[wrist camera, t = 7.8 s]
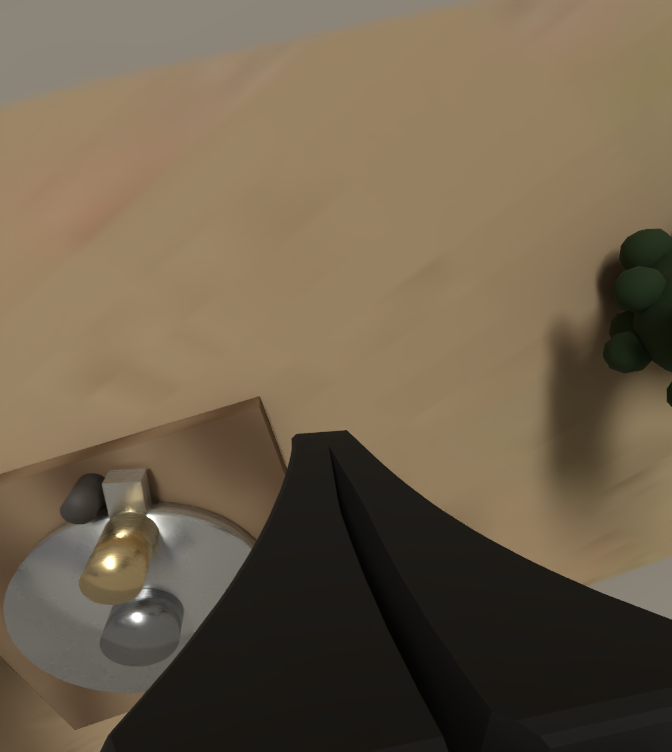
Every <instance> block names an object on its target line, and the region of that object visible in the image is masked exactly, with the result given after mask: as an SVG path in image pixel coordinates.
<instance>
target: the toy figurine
mask: <svg viewBox="0 0 672 752" xmlns="http://www.w3.org/2000/svg"><path fill="white" fill-rule="evenodd" d="M619 259H620V261H621V263H622V265H623V267H624V268H625V269H626V271H623V272H621V274H620V275H619V276H618V278H617V279H616V281H615V282H614V284H613V285H612V287H611V299H612V300H613V301H614V302H615V303H616V304H617V305H618V306H619V307H620V308H621V309H622V310H625V312H622V313H619V314H617V315H616V316H615V317H614V318H613V320H612V321H611V325H610V332H609V334H610V336H611V339H610V340H609V341H608V342H607V343H606V344H605V346H604V351H603V358H604V360H605V361H606V363H607V364H608V366H609V367H610V368H611V369H614V370H616V371H619V372H622V373H629V372H634V371H639V370H642V369H644V368H645V367H646V366H647V365H648V364H649V363H650V362H651V361H654V362H655V363H657V364H658V365H660V366H661V367H663V368H664V369H666V370H667V371H670V372H672V238H671V237H670V236H669V235H668V234H667V233H666V232H664V231H663V230H662V229H645V230H641V231H638V232H636V233H634V234H633V235H631V236H629V237H627V239H626V240H625V241H624V242H623V244H622V245H621V249H620V258H619ZM667 402H668V403H669V404H670V406H671V407H672V382H671V384H670V385H669V386H668V388H667Z"/></svg>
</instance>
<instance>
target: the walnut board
mask: <svg viewBox="0 0 672 752" xmlns="http://www.w3.org/2000/svg"><path fill="white" fill-rule="evenodd" d="M137 468H147V474H148V480H149V486H150V492H151V498H152V501H157V502H172V503H178V504H183V505H189V506H193V507H196V508H200V509H204V510H207V511H209V512H212V513H214V514H217V515H219V516H221V517H223V518H225V519H227V520H229V521H231V522H232V523H234V524H236V525H237V526H238V527H240V528H241V529H242V530H244V531H245V532H246V533H247V534H248V535H249V536H251V537H252V538H253V539H254V540H255V541H257V539H258V537H259V535H260V533H261V531H262V529H263V527H264V525H265V523H266V521H267V519H268V517H269V515H270V513H271V510H272V508H273V506H274V504H275V501H276V499H277V497H278V494H279V492H280V489H281V487H282V484H283V481H284V478H285V475H286V472H287V469H286V467H285V464H284V461H283V458H282V456H281V453H280V450H279V448H278V445H277V442H276V440H275V437H274V434H273V432H272V429H271V426H270V423H269V421H268V418H267V415H266V413H265V410H264V407H263V405H262V402H261V399H260V397H256V398H253V399H249V400H246V401H243V402H239V403H236V404H233V405H229V406H226V407H223V408H219V409H216V410H213V411H209V412H206V413H203V414H199V415H196V416H193V417H189V418H186V419H183V420H179V421H176V422H173V423H169V424H166V425H163V426H159V427H156V428H153V429H150V430H146V431H143V432H140V433H136V434H133V435H130V436H126V437H123V438H120V439H116V440H113V441H110V442H106V443H103V444H100V445H96V446H93V447H90V448H86V449H83V450H80V451H76V452H73V453H70V454H66V455H63V456H60V457H56V458H53V459H50V460H46V461H43V462H40V463H36V464H33V465H30V466H26V467H23V468H20V469H16V470H13V471H10V472H7V473H3V474H0V656H1V657H2V658H3V659H4V660H5V661H6V662H7V663H8V664H9V665H10V666H11V667H12V668H13V669H14V670H15V671H16V672H17V673H18V674H19V675H20V676H21V677H22V678H23V679H24V680H25V681H26V682H27V683H28V684H29V685H30V686H31V687H32V688H33V689H34V690H35V691H36V692H37V693H38V694H39V695H40V696H41V697H42V698H43V699H44V700H45V701H46V702H47V703H48V704H49V705H50V706H51V707H52V708H53V709H54V710H55V711H56V712H57V713H58V714H59V715H60V716H61V717H62V718H63V719H64V720H65V721H66V722H67V723H68V724H69V725H70V726H71V727H72V728H73V729H74V730H76V729H79V728H82V727H85V726H88V725H91V724H94V723H97V722H100V721H103V720H106V719H109V718H111V717H114V716H117V715H120V714H123V713H126V712H129V711H130V710H131V708H132V707H133V706H134V705H135V704H136V703H137V702H138V700H139V699H140V698H141V697H142V696H143V695H144V693H114V692H105V691H98V690H93V689H88V688H84V687H81V686H77V685H74V684H71V683H68V682H66V681H63V680H61V679H58V678H56V677H54V676H52V675H50V674H48V673H47V672H45V671H43V670H42V669H40V668H39V667H37V666H36V665H34V664H33V663H32V662H31V661H30V660H28V659H27V658H26V657H25V656H24V655H23V654H22V653H21V652H20V650H19V649H18V648H17V646H16V645H15V644H14V642H13V641H12V639H11V637H10V635H9V633H8V631H7V627H6V624H5V620H4V609H3V606H4V599H5V594H6V591H7V588H8V585H9V583H10V581H11V579H12V577H13V576H14V574H15V572H16V571H17V569H18V568H19V566H20V565H21V563H22V562H23V560H24V559H25V557H26V556H27V554H28V553H29V551H30V550H31V549H32V548H33V547H34V546H35V544H36V543H37V542H38V541H39V540H40V539H41V538H43V537H44V536H45V535H46V534H47V533H48V532H50V531H51V530H53V529H54V528H56V527H57V526H59V525H60V524H62V523H64V522H65V521H67V522H69V523H72V524H79V525H80V524H86V523H89V522H90V521H92V520H93V519H94V517H95V516H96V514H97V512H98V510H99V508H101V507H106V506H107V505H106V501H105V496H104V492H103V487H102V483H103V481H104V479H105V477H106V476H107V474H108V472H109V470H122V469H137Z"/></svg>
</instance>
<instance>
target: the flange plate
mask: <svg viewBox="0 0 672 752" xmlns="http://www.w3.org/2000/svg"><path fill="white" fill-rule="evenodd" d="M102 487H103V492H104V496H105V501H106V505H107V506H106V507H101V508H99V510H98V512H97V514H96V516H95V517H94V519H93V520H92V521H90V522H89V523H86V524H80V525H79V524H72V523H69V522H67V521H65V522H64V523H62V524H60V525H59V526H57V527H56V528H54V529H53V530H51V531H50V532H48V533H47V534H46V535H45V536H44V537H43V538H41V539H40V540H39V541H38V542H37V543H36V544H35V546H34V547H33V548H32V549H31V550H30V551H29V553H28V554H27V556H26V557H25V559H24V560H23V562H22V563H21V565H20V566H19V568H18V569H17V571H16V572H15V574H14V576H13V577H12V579H11V581H10V583H9V585H8V588H7V591H6V594H5V599H4V606H3V609H4V620H5V624H6V627H7V631H8V633H9V635H10V637H11V639H12V641H13V642H14V644H15V645H16V646H17V648H18V649H19V650H20V652H21V653H22V654H23V655H24V656H25V657H26V658H27V659H28V660H30V661H31V662H32V663H33V664H34V665H36V666H37V667H39V668H40V669H42V670H43V671H45V672H47V673H48V674H50V675H52V676H54V677H56V678H58V679H61V680H63V681H66V682H68V683H71V684H74V685H77V686H81V687H84V688H88V689H93V690H98V691H105V692H114V693H145V692H146V691H147V690H148V689H149V688H150V687H151V685H152V684H153V683H154V682H155V681H156V680H157V679H158V677H159V676H160V675H161V674H162V673H163V672H164V670H165V669H166V668H167V667H168V666H169V665H170V664H171V662H172V661H173V660H174V659H175V657H176V656H177V655H178V654H179V652H180V651H181V650H182V649H183V647H184V646H185V645H186V644H187V642H188V641H189V640H190V638H191V637H192V636H193V634H194V633H195V632H196V630H197V629H198V628H199V626H200V625H201V624H202V622H203V621H204V620H205V618H206V617H207V616H208V614H209V613H210V612H211V610H212V609H213V608H214V606H215V605H216V604H217V602H218V601H219V600H220V598H221V597H222V595H223V594H224V592H225V591H226V589H227V588H228V586H229V585H230V583H231V582H232V580H233V579H234V577H235V576H236V574H237V572H238V571H239V569H240V568H241V566H242V564H243V563H244V561H245V560H246V558H247V556H248V555H249V553H250V551H251V550H252V548H253V546H254V544H255V542H256V541H255V540H254V539H253V538H252V537H251V536H249V535H248V534H247V533H246V532H245V531H244V530H242V529H241V528H240V527H238V526H237V525H236V524H234V523H232V522H231V521H229V520H227V519H225V518H223V517H221V516H219V515H217V514H214V513H212V512H209V511H207V510H204V509H200V508H196V507H193V506H189V505H183V504H178V503H172V502H157V501H152V498H151V492H150V486H149V480H148V474H147V468H137V469H122V470H109V472H108V474H107V476H106V477H105V479H104V481H103V483H102Z"/></svg>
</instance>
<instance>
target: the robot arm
mask: <svg viewBox="0 0 672 752" xmlns="http://www.w3.org/2000/svg"><path fill="white" fill-rule="evenodd" d="M100 752H672V620H671V619H669V618H666V617H663V616H661V615H658V614H655V613H653V612H650V611H648V610H645V609H642V608H640V607H637V606H634V605H632V604H629V603H627V602H624V601H621V600H619V599H616V598H613V597H611V596H608V595H606V594H603V593H601V592H598V591H596V590H593V589H591V588H589V587H587V586H584V585H582V584H580V583H578V582H575V581H573V580H571V579H569V578H566V577H564V576H562V575H560V574H557V573H555V572H553V571H551V570H549V569H547V568H545V567H542V566H540V565H538V564H536V563H534V562H532V561H530V560H528V559H526V558H524V557H522V556H520V555H518V554H516V553H514V552H513V551H511V550H509V549H507V548H505V547H503V546H501V545H499V544H498V543H496V542H494V541H492V540H490V539H488V538H486V537H485V536H483V535H481V534H480V533H478V532H476V531H474V530H473V529H471V528H469V527H468V526H466V525H465V524H463V523H461V522H460V521H458V520H457V519H455V518H454V517H452V516H450V515H449V514H447V513H446V512H444V511H443V510H441V509H440V508H438V507H437V506H435V505H434V504H432V503H431V502H430V501H428V500H427V499H426V498H424V497H423V496H422V495H420V494H419V493H418V492H416V491H415V490H414V489H412V488H411V487H410V486H408V485H407V484H406V483H405V482H403V481H402V480H401V479H400V478H398V477H397V476H396V475H395V474H394V473H393V472H391V471H390V470H389V469H388V468H387V467H386V466H384V465H383V464H382V463H381V462H380V461H379V460H378V459H377V458H376V457H375V456H374V455H372V454H371V453H370V452H369V451H368V450H367V449H366V448H365V447H364V446H363V445H362V444H361V443H360V442H359V441H358V440H357V439H356V438H355V437H353V436H352V435H351V434H350V433H349V432H348V431H347V430H344V431H331V432H317V433H304V434H296V435H295V436H294V437H293V438H292V451H291V457H290V461H289V465H288V469H287V472H286V475H285V478H284V481H283V484H282V487H281V489H280V492H279V494H278V497H277V499H276V501H275V504H274V506H273V508H272V510H271V513H270V515H269V517H268V519H267V521H266V523H265V525H264V527H263V529H262V531H261V533H260V535H259V537H258V539H257V541H256V542H255V544H254V546H253V548H252V550H251V551H250V553H249V555H248V556H247V558H246V560H245V561H244V563H243V564H242V566H241V568H240V569H239V571H238V572H237V574H236V576H235V577H234V579H233V580H232V582H231V583H230V585H229V586H228V588H227V589H226V591H225V592H224V594H223V595H222V597H221V598H220V600H219V601H218V602H217V604H216V605H215V606H214V608H213V609H212V610H211V612H210V613H209V614H208V616H207V617H206V618H205V620H204V621H203V622H202V624H201V625H200V626H199V628H198V629H197V630H196V632H195V633H194V634H193V636H192V637H191V638H190V640H189V641H188V642H187V644H186V645H185V646H184V647H183V649H182V650H181V651H180V652H179V654H178V655H177V656H176V657H175V659H174V660H173V661H172V662H171V664H170V665H169V666H168V667H167V668H166V669H165V670H164V672H163V673H162V674H161V675H160V676H159V677H158V679H157V680H156V681H155V682H154V683H153V684H152V685H151V687H150V688H149V689H148V690H147V691H146V692H145V693H144V695H143V696H142V697H141V698H140V699H139V700H138V702H137V703H136V704H135V705H134V706H133V707H132V708H131V710H130V711H129V712H128V713H127V714H126V715H125V717H124V718H123V719H122V720H121V721H120V722H119V723H118V725H117V726H116V727H115V728H114V729H113V730H112V731H111V733H110V734H109V735H108V737H107V739H106V741H105V743H104V745H103V747H102V749H101V751H100Z"/></svg>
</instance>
